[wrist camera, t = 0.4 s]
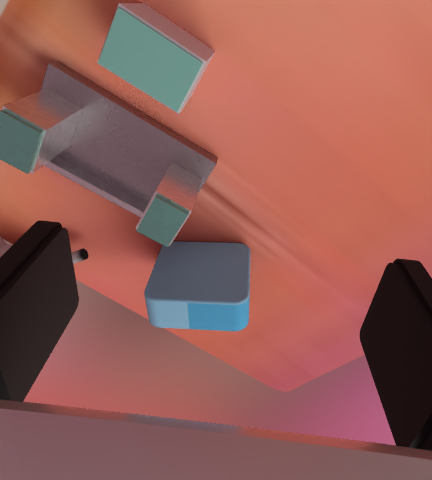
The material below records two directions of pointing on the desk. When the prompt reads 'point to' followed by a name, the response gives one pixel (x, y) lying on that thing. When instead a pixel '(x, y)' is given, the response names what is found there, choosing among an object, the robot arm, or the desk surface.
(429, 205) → the desk surface
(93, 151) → the rail
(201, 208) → the desk surface
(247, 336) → the desk surface
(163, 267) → the data package
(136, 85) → the block
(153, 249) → the desk surface
